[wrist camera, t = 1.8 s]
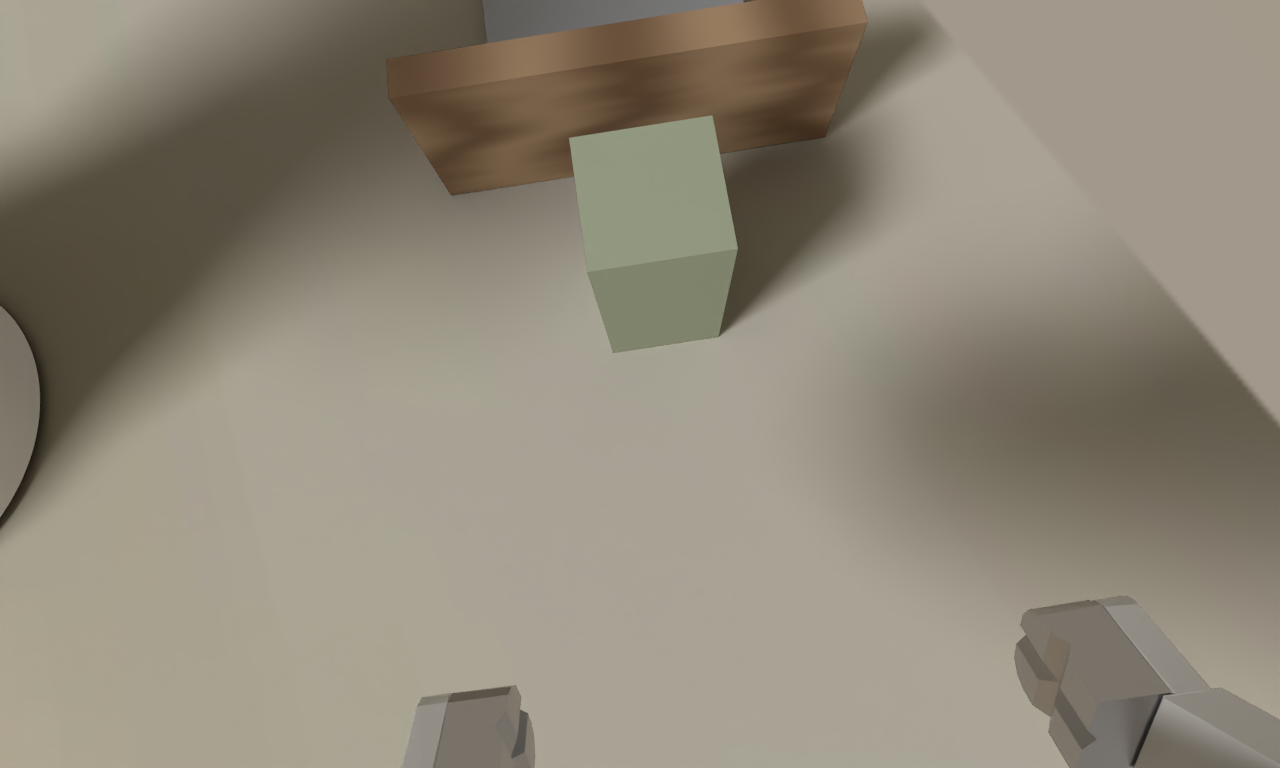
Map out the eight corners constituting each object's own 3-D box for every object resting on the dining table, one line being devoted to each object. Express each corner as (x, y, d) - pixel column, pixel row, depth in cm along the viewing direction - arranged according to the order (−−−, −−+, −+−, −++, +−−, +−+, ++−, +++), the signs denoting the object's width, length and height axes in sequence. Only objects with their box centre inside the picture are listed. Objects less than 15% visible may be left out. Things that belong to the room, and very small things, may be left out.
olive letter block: (613, 353, 29) (587, 271, 20) (598, 250, 30) (568, 132, 21) (718, 336, 29) (737, 248, 20) (700, 235, 30) (711, 109, 21)
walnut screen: (451, 195, 31) (388, 98, 24) (448, 163, 31) (386, 59, 25) (824, 137, 31) (867, 22, 24) (817, 105, 31) (857, -16, 24)
